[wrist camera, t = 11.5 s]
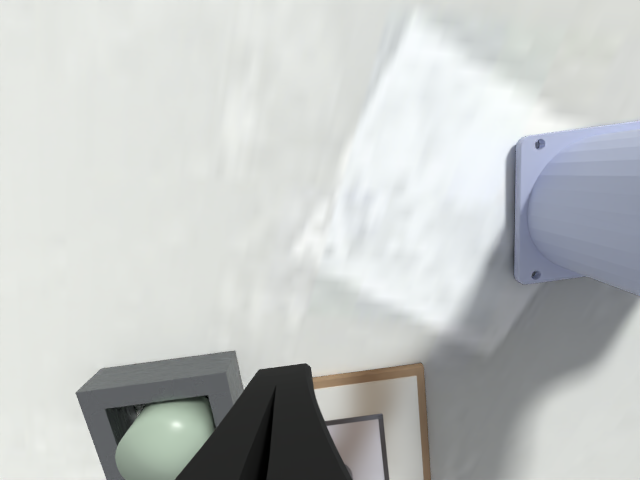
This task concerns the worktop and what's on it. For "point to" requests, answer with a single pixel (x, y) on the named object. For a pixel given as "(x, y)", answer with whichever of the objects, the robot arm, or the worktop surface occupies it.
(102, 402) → the button housing
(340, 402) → the wooden framed board
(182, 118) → the worktop surface
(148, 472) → the button
